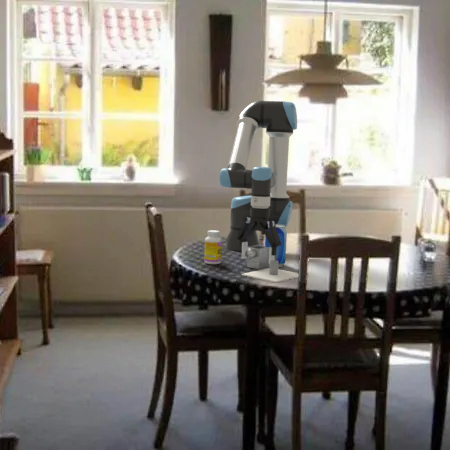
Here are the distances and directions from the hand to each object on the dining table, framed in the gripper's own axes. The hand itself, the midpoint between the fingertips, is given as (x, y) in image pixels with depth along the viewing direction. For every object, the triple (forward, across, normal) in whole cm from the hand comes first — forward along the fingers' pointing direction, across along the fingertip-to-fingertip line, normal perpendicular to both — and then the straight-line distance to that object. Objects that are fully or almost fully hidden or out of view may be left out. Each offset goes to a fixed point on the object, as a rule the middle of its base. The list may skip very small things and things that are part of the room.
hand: (257, 261), depth 310 cm
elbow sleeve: (+3, 0, -1) cm, 3 cm away
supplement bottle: (+3, -17, -8) cm, 19 cm away
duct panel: (+3, +14, -8) cm, 16 cm away
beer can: (+3, +2, +9) cm, 9 cm away
